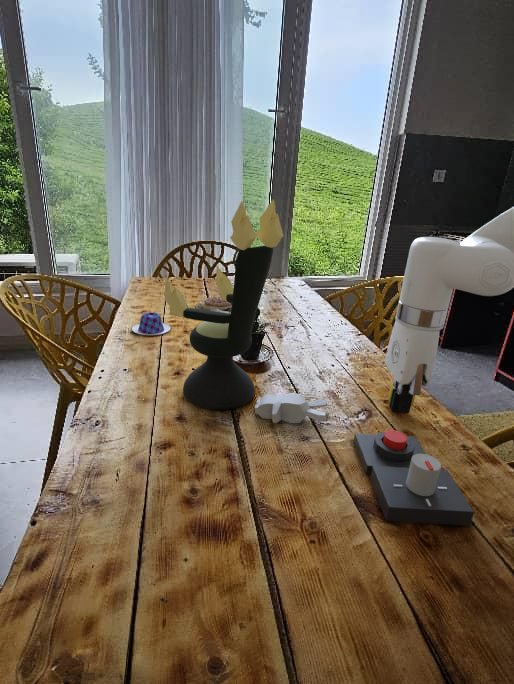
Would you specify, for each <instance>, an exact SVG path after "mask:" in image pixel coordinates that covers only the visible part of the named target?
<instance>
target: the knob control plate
mask: <svg viewBox="0 0 514 684" xmlns="http://www.w3.org/2000/svg"><path fill="white" fill-rule="evenodd" d="M408 472H409V468H403V467H384V466H372V471H371V475H369V476H370V477H369V480H370V483H371V485H372V487H373V489H374V493H375V496H376V498H377V501H378V503H379V506H380V508H381V511H382V514H383V517H384V519H385V522H399V523H413V524H414V523H417V524H431V525H432V524H433V525H434V524H435V525H453V526H469V527H470V526H471V523H472V520H473V517H474V514H475V511H474V509H473V507H472V506H471V504H470V503H469V501H468V500H467V498H466V497H465V495H464V493H463V492H462V490H461V489H460V487H459V486H458V484H457V483H456V481H455V480H454V478H453V477H452V475H451V473H450V472H449V470H448V469H440V473H439V477H438V481H437V485H436V488H435V492H434V494H433V495H431V496H421V495H417V494H415V493H413V492H412V491H410V490H409V489H408V487H407V485H406V481H407V476H408Z"/></svg>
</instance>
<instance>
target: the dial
mask: <svg viewBox="0 0 514 684" xmlns="http://www.w3.org/2000/svg"><path fill="white" fill-rule="evenodd" d="M440 470H442V464H441V462H440V460H438V459H437V458H436V457H434V456H432V455H430V454H427V453H426V454H415V455H413V456H412V459H411V463H410V468H409V472H408V476H407V481H406V485H407V487H408V489H409V490H410V491H412V492H413V493H415V494H417V495H421V496H431V495H433V494H434V492H435V488H436V485H437V481H438V477H439V473H440Z"/></svg>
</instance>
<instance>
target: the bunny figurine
mask: <svg viewBox="0 0 514 684" xmlns="http://www.w3.org/2000/svg"><path fill="white" fill-rule="evenodd" d="M327 406H328V401H327V400H326V399H325V398H319V399H315V400H311V401H307V400H306V398H305V397H304V395H303V394H302V393H298V392H288V393H285V394H283V393H282V392H278V393H276V395H274V394H270V393H267V394H265V395H263V396H262V397H261V398H257V400H256V403H255V406H254V414H255V415H258V416H259V417H260V418H261V419H267V420H271V419H272V420H271V421H272V423H273V424H278V423H279V422H280V421H284V422H286V423H290V424H301V423H302V421H303V420H305V418H309V419H312V420H314V421H317V422H322V423H323V422H326V420H327V412H325V411H323V410H322V411H321V410H317V409H313V408H323V407H324V408H325V407H327Z"/></svg>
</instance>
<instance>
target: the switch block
mask: <svg viewBox="0 0 514 684" xmlns="http://www.w3.org/2000/svg"><path fill="white" fill-rule="evenodd" d="M385 432H386V431H382V432H379V433H377V434H369V433H354V437H353V444H354V447H355V449H356V453H357V455H358V458H359V460H360V463H361V465H362V468H363V472H364V473H365V475H368V476H371V471H372V466H384V467H403V468H410V463H411V459H412V456H413V455H415V454H427V452H426V451H425V450H424V448H423V446H422V444H421V443H420V441H419V440H418V438H417V436H408V435H406V437H407V443H406V447H405V449H403V450H395V449H392V448H389V447H387V446H386V445H384V443H383V439H384V434H385Z"/></svg>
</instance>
